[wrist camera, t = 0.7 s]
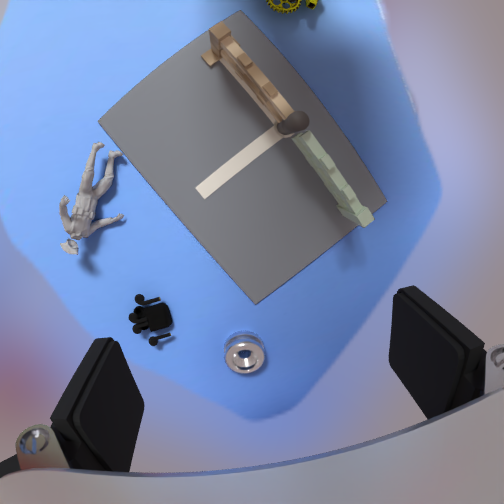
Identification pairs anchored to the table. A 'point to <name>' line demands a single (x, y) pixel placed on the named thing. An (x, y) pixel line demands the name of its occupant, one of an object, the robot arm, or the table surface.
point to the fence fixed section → (254, 79)
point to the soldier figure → (87, 202)
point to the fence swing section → (332, 179)
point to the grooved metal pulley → (244, 360)
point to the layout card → (239, 160)
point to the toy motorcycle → (291, 5)
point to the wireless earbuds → (150, 317)
